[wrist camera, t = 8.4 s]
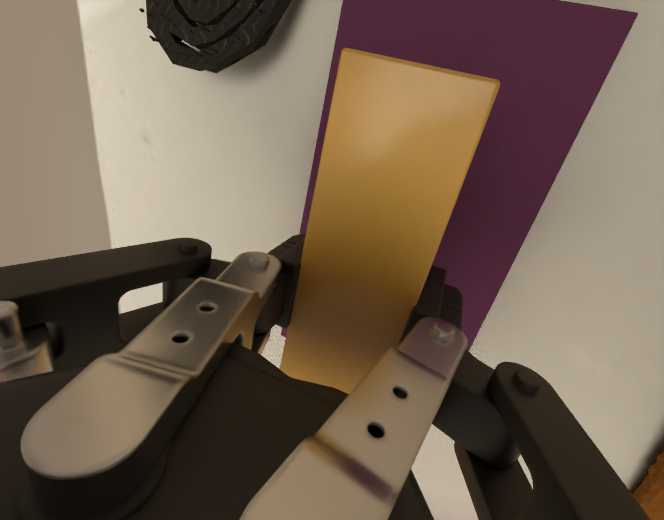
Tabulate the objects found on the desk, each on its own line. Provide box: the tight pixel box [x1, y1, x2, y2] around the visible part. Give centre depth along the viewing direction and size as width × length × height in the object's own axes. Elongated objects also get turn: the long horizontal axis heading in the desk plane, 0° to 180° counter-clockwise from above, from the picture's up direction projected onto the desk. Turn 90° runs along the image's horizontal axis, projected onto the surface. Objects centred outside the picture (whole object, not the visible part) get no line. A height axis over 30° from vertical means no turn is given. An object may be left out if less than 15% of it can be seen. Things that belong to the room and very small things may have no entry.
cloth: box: [281, 0, 638, 351], centre depth 18 cm, size 20×11×1 cm, turn 167°
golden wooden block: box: [280, 48, 500, 394], centre depth 12 cm, size 13×3×4 cm, turn 167°
